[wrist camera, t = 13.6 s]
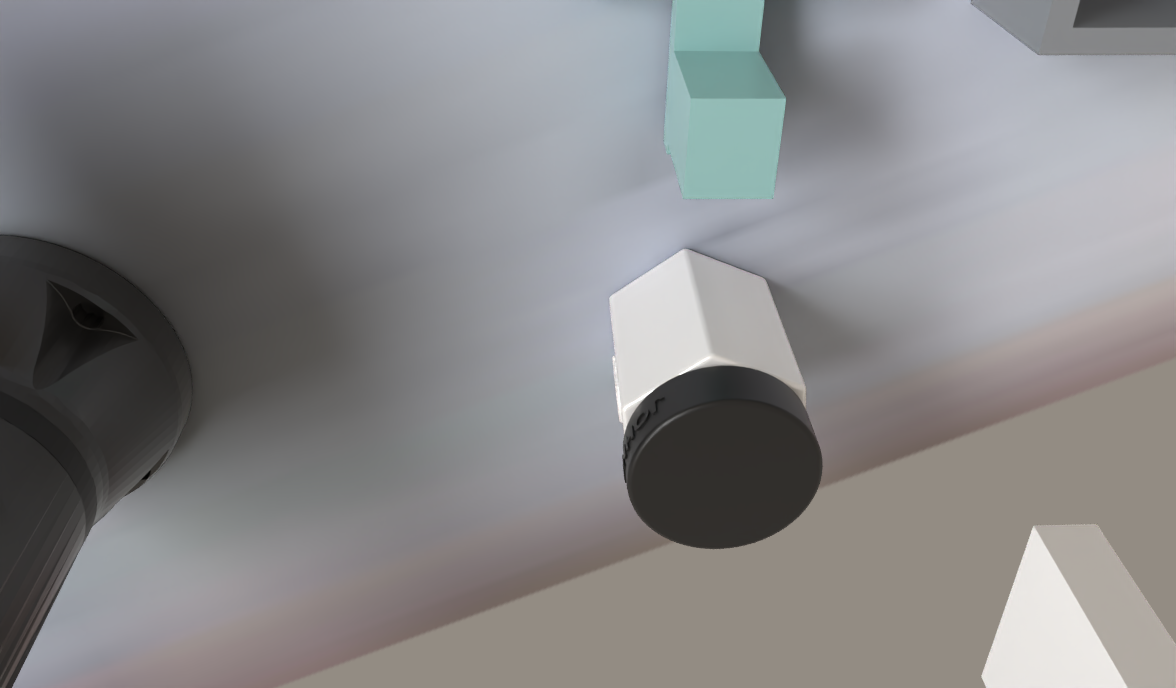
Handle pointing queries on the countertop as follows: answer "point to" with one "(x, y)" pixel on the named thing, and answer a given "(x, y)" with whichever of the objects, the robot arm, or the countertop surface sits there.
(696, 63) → the teal t-shaped block
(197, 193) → the countertop surface
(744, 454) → the jar
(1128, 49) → the tub
